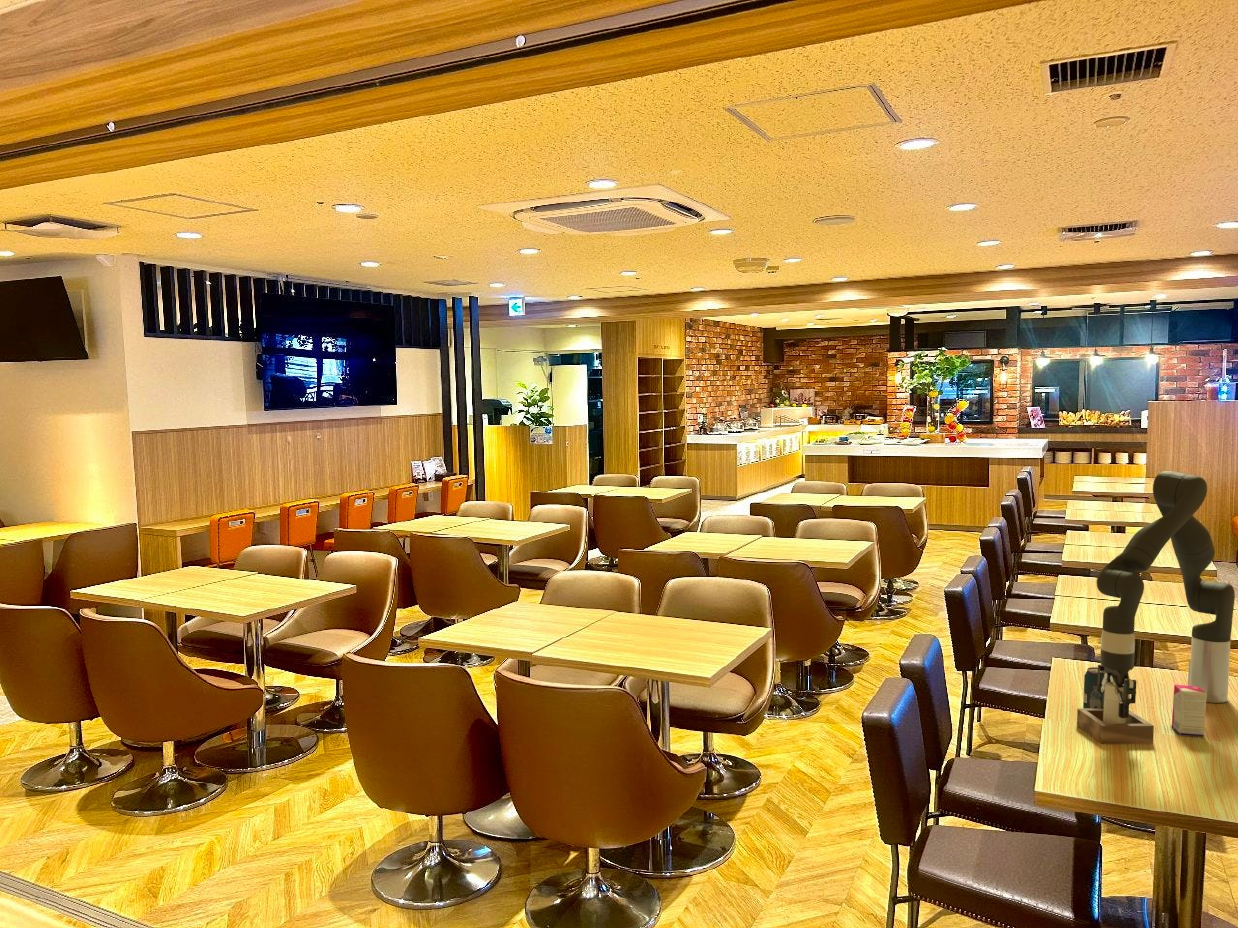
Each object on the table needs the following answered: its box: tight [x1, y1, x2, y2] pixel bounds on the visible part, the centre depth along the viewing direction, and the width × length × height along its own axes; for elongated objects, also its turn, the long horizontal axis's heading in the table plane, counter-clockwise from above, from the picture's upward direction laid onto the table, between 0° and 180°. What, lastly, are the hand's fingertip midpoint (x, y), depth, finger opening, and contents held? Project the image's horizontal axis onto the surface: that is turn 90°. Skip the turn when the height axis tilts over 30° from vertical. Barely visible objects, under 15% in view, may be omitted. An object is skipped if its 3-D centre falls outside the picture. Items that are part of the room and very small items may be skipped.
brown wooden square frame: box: [1076, 707, 1155, 745], centre depth 236 cm, size 13×13×4 cm
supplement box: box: [1171, 684, 1207, 738], centre depth 237 cm, size 6×6×12 cm
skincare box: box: [1103, 682, 1126, 724], centre depth 235 cm, size 6×4×12 cm
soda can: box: [1082, 666, 1104, 708], centre depth 250 cm, size 7×7×12 cm
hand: (1115, 712), depth 235 cm, fingers open, 7 cm apart
